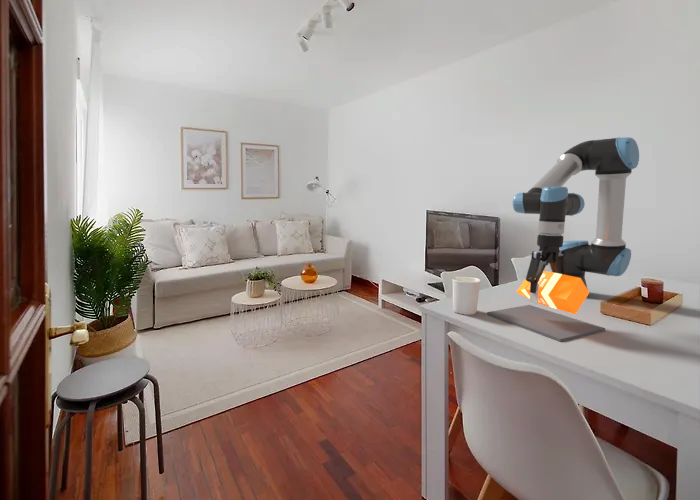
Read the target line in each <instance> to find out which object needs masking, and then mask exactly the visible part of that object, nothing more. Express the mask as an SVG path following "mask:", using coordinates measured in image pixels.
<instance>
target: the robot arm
mask: <svg viewBox="0 0 700 500" xmlns="http://www.w3.org/2000/svg"><path fill="white" fill-rule="evenodd" d="M637 143H638V142H637V141H636V140H635V139H634V138H633V137H628V136H627V137H625V136H624V137H619V136H618V137H614V138H613V137H612V138H603V139H593V140H586V141H583V142H580V143H578V144H575V145H573V146H572V147H570V148H568V150H566V151H565V152H563V153H562V154H561V155H560V156H559V157H558V158H557V160H556V163H555V165H554V166H552V167H551V168H550V169H549V170H548V171H547V172H546V173H545V174H544V175H543V176H542V177H541V178H540V179H539V180H538V181H537V182H536V183H535V184H534V185H533V186H532V187H531V188H530V189H529V190H528V191H527V192H524V191H523V192H518V193H516V194H515V195H514V197H513V199H512V207H513V208H512V209H513V210H514V212H516V213H517V214H518V213H519V214H525V215H526V214H528V215H529V214H530V215H531V214H532V215H539V218H538V226H537V227H538V228H537V233H538V235H537V240H536V245H537V247H539V249H538V251H531V259H530V262H529V267H528V270H527V272H526V277H525V279H526V281H528V282H530V299H529V302H531V303H534V304H538V300H539V294H538V291H539V289H540V284H539V283H538V282H539V280H540V277H541V275H542V273H543V271H545V269H546V267H547V266H548V265H549V264H550V265H549V266H550V268H551V269H550V270H551V272H553V273H559V274H563V275H568V276H573V277H578V278H581V280H582V281H583V283H584V285H585V286H586V288H587V290H588V291H589V289H588V284H587V282H586V273H591V274H598V275H603V276H608V277H609V276H611V277H621V276H622V275H623V274H624V273H625V272H626V271H627V270H628V267H629V265H630V262H631V258H632V250H631V249H630V248H628V247H626V245H627V244H626V243H627V242H626V241H624V239H623V238H622V236H623V223H624V210H625V199H626V198H625V197H626V184H627V183H626V182H627V178H628V177H629V176H630V175H631V174H632V170H634V169H636V168H637V167H638V165H639V161H640V150H639V145H638V144H637ZM583 171H594V172H595V173H594V175H595V176H596V177H597V178H598V181H599V183H598V194H597V196H598V198H597V199H598V201H597V213H596V217H597V218H596V227H595V228H596V229H595V238H594V239H593V240H591V242H590V243H589V241H588V240H564V235H563V234H565V222H566V217H567V216H570V217H572V216H573V217H574V216H575V215H578V214H580V213H582V212H583V210H584V208H585V204H586V203H585V199H584V197H582V195H581V194H578V193H575V192H569V189H568V187H566V186H564V185H565V184H566V183H567V182H568V180H569V179H571V178H572V177H573V176H575V175H578V173H580V172H583ZM530 277H531V278H530ZM535 278H536V279H535Z"/></svg>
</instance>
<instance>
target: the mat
mask: <svg viewBox="0 0 700 500" xmlns="http://www.w3.org/2000/svg"><path fill="white" fill-rule="evenodd" d="M486 315H487V316H491V317H493V318H496V319H498V320H501V321H504V322H507V323H509V324H512V325H514V326H517V327H520V328H521V329H522V328H523V329H525V330H528V331H530V332H533V333H536V334H537V335H538V334H539V335H541V336H544V337H545V338H550V339H552V340H554V341H558V342H560V343H561V342H565V341H568V340H573V339H576V338H580V337H585V336H589V335H593V334H596V333H601V332H604V331H606V328H605V327H602V326H600V325H596V324H592V323H589V322H586V321H583V320H581V319H580V320H579V319H577V318H573V317H571V316H567V315H564V314H562V313H561V314H560V313H556V312H553V311H550V310H547V309H544V308H540V307H537V306H534V305H531V304H527V305H522V306H520V305H519V306H515V307H509V308H504V309H498V310H492V311H487V312H486Z"/></svg>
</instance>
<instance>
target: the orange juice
mask: <svg viewBox="0 0 700 500" xmlns="http://www.w3.org/2000/svg"><path fill="white" fill-rule="evenodd" d="M530 278H531V277H530ZM535 279H536V278H535ZM538 283H539V284H540V289H539V291H538V294H539V300H538V303H537V304H538V305H542V306H546V307H549V308H552V309H555V310H560V311H563V312H566V313H570V314H574V315H577V312H578V311H579V310H580V307H582V305H583V303H584V302H585V300H586V299H587V298H588V295H590V291H589V289H588V290H587V288H588V287H587V288H586V286H585V285H584V283H583V281H582V280H581V278H578V277H573V276H568V275H563V274H559V273H553V272H552V271H547V270H544V271H543V273H542V275H541V277H540V280H539V282H538ZM516 293H517V294H519V295H520V296H522V297H524V298H526V299H528V300H530V282H528V281H526V278H525V279H523V282H522V283H521V284H520V286H519V287H518V289H517V290H516Z"/></svg>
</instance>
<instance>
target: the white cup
mask: <svg viewBox="0 0 700 500" xmlns="http://www.w3.org/2000/svg"><path fill="white" fill-rule="evenodd" d="M451 281H452V311H453V312H454V313H456V314H458V313H459V314H458V315H463V314H464V316H465V315H467V316H471V315H475V314H476V313H477V310H478V304H479V295H480V287H481V282H482V280H481V279H479V278H478V277H477V278H476V277H471V276H454V277H453V278H452V280H451Z"/></svg>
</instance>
